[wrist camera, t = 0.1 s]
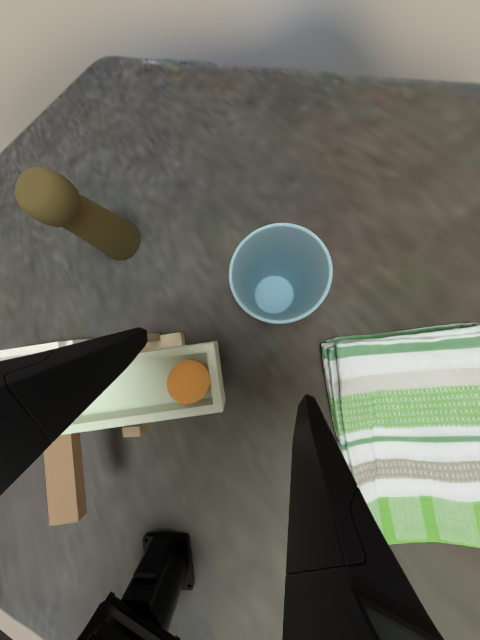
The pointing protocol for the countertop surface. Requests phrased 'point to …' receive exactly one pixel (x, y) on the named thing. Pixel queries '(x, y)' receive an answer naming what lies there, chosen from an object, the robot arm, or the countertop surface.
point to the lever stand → (153, 343)
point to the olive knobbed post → (74, 212)
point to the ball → (188, 381)
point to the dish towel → (411, 428)
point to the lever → (126, 418)
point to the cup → (280, 273)
